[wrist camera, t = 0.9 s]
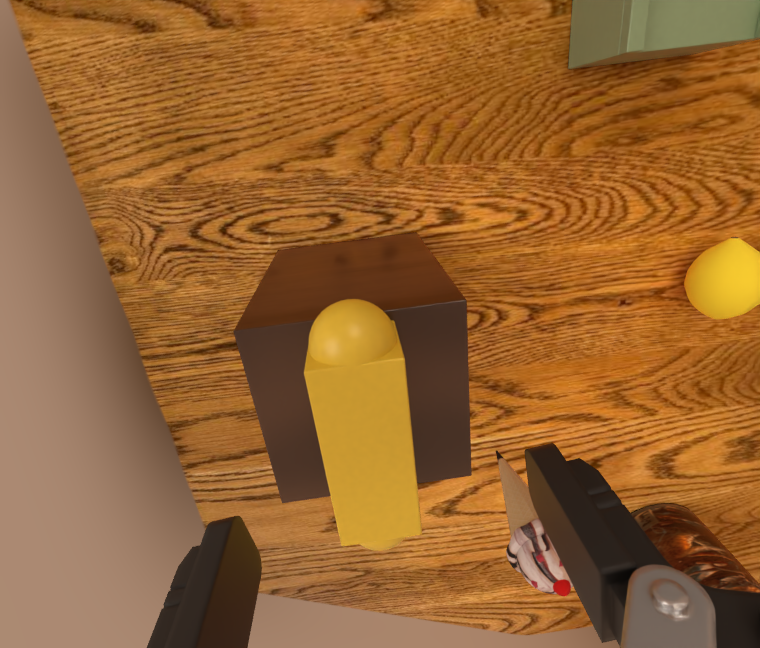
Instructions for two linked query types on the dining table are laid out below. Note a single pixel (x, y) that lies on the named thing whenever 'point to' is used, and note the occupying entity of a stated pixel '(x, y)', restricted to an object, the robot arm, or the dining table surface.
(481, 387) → the dining table surface
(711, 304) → the lemon
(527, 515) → the ice cream cone
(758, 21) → the block
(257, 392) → the block
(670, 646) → the robot arm
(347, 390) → the yellow ball-topped peg
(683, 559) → the jar
